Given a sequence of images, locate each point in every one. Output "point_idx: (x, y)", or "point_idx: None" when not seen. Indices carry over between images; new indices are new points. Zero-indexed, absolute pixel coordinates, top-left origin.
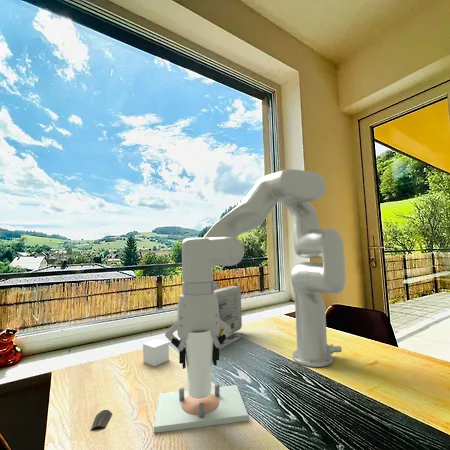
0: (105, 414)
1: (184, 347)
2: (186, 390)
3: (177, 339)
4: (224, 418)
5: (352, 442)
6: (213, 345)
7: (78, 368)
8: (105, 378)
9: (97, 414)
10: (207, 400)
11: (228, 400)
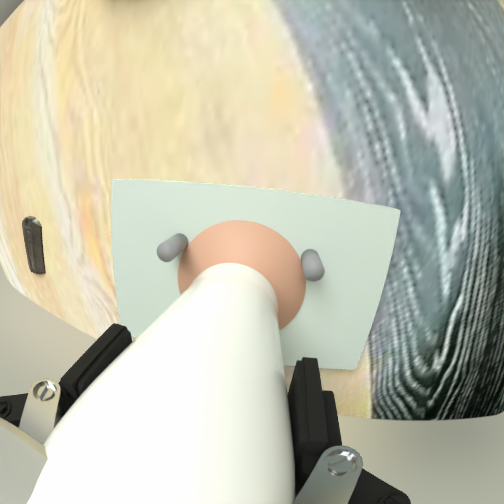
0: (31, 235)
1: (77, 390)
2: (199, 183)
3: (18, 425)
4: (293, 365)
5: (449, 416)
6: (298, 467)
7: (4, 31)
8: (25, 61)
9: (22, 224)
10: None
11: (336, 299)
